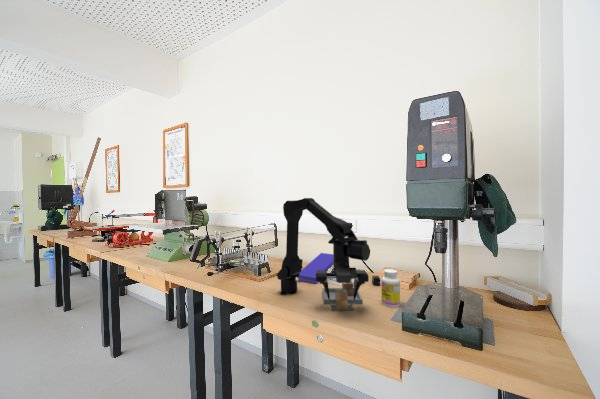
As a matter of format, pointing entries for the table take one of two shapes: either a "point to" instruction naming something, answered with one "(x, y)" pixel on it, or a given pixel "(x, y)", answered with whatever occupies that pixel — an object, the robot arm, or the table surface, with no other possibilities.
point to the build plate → (376, 280)
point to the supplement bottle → (390, 288)
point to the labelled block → (341, 299)
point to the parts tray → (333, 301)
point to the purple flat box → (315, 268)
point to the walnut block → (348, 287)
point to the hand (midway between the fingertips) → (341, 299)
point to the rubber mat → (333, 308)
